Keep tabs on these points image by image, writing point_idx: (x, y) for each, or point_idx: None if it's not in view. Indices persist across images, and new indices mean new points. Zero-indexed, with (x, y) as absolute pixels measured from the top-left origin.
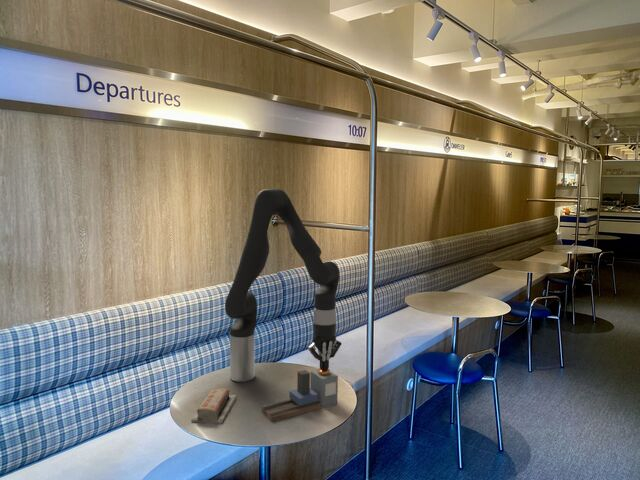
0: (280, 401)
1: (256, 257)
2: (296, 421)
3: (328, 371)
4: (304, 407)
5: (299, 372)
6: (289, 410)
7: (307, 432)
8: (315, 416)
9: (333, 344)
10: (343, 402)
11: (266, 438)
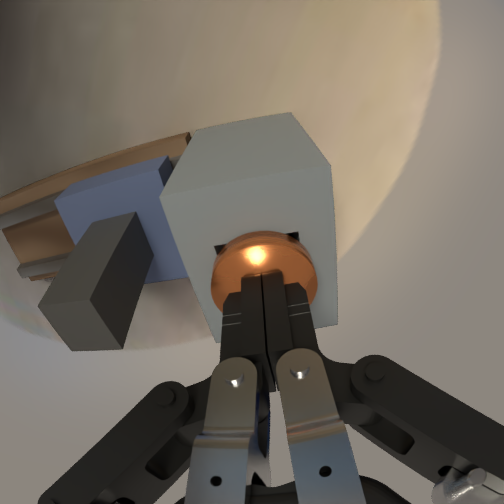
0: (39, 202)
1: None
2: None
3: None
4: None
5: (52, 320)
6: None
7: (139, 344)
8: (178, 282)
9: (437, 496)
10: (338, 215)
11: (43, 331)
